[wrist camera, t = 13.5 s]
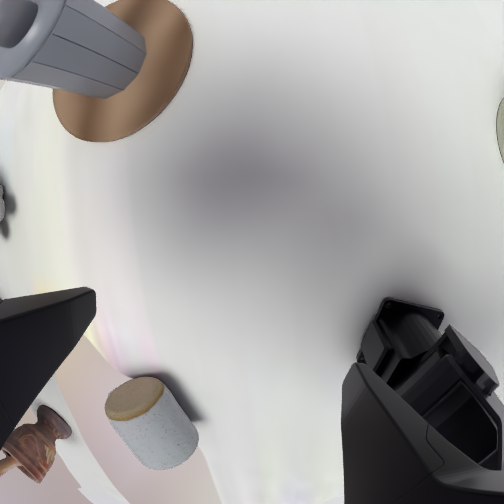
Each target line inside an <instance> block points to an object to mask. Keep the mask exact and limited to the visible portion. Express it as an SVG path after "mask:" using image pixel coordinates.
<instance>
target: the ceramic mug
mask: <svg viewBox="0 0 504 504" xmlns="http://www.w3.org/2000/svg"><path fill="white" fill-rule="evenodd" d="M105 412H106V415H107V417H108V419H109V421H110V423H111V425H112V426H113V428H114V429H115V431H116V432H117V433H118V434H119V435H120V437H121V438H122V439H123V441H124V442H125V443H126V445H127V446H128V447H129V448H130V450H131V451H132V452H133V454H134V455H135V456H136V457H137V458H138V460H139V461H140V462H141V463H142V464H143V465H145V466H146V467H148V468H150V469H154V470H165V469H170V468H173V467H176V466H178V465H180V464H181V463H183V462H184V461H186V460H187V459H188V458H189V457H190V456H191V455H192V454H193V452H194V451H195V449H196V447H197V445H198V440H199V436H198V431H197V429H196V428H195V426H194V425H193V424H192V422H191V421H190V420H189V418H188V417H187V415H186V414H185V413H184V411H183V410H182V408H181V407H180V406H179V404H178V403H177V401H176V400H175V398H174V396H173V395H172V393H171V392H170V391H169V389H168V388H167V387H166V386H165V385H164V384H163V383H162V382H161V381H160V380H159V379H156V378H153V377H139V378H135V379H132V380H129V381H127V382H125V383H124V384H122V385H120V386H119V387H118V388H115V389H114V390H113V391H111V392H110V393H109V394H108V398H107V401H106V404H105Z"/></svg>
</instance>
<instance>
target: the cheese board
mask: <svg viewBox="0 0 504 504" xmlns="http://www.w3.org/2000/svg"><path fill="white" fill-rule="evenodd" d="M105 8H106V9H108V10H109V11H110V12H112V13H113V14H115V15H116V16H118V17H119V18H120V19H122V20H123V21H124V22H126V23H127V24H129V25H130V26H131V27H133V28H134V29H135V30H136V31H138V32H139V33H140V34H141V35H142V36H144V38H145V45H146V53H147V54H146V57H145V59H144V62H143V64H142V67H141V70H140V72H139V73H138V75H137V76H136V77H135V79H134V80H133V81H132V82H131V83H130V84H129V85H128V86H127V87H126V88H125V90H123V91H122V92H119V93H117V94H115V95H113V96H111V97H109V98H107V99H102V98H94V97H88V96H84V95H80V94H76V93H72V92H67V91H63V90H58V89H53V103H54V108H55V112H56V114H57V117H58V119H59V121H60V123H61V124H62V125H63V127H64V128H65V129H66V130H67V131H68V132H69V133H70V134H72V135H73V136H75V137H76V138H79V139H82V140H85V141H90V142H109V141H115V140H118V139H122V138H124V137H127V136H129V135H131V134H133V133H135V132H137V131H138V130H140V129H142V128H143V127H144V126H146V125H147V124H148V123H150V122H151V121H152V120H153V119H154V118H155V117H157V116H158V115H159V114H160V113H161V112H162V111H163V109H164V108H165V107H166V106H167V105H168V104H169V102H170V101H171V100H172V98H173V97H174V96H175V94H176V93H177V91H178V89H179V88H180V86H181V84H182V82H183V80H184V78H185V76H186V73H187V71H188V68H189V65H190V61H191V56H192V48H193V40H192V32H191V28H190V25H189V23H188V21H187V19H186V18H185V16H184V15H183V13H182V12H181V11H180V10H179V9H178V8H177V7H176V6H175V5H174V4H173V3H171V2H170V1H168V0H118V1H116V2H114V3H112V4H110V5H108V6H106V7H105Z"/></svg>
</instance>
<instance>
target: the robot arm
mask: <svg viewBox="0 0 504 504" xmlns="http://www.w3.org/2000/svg"><path fill="white" fill-rule="evenodd" d="M387 303H390V305H389V306H386V304H387ZM95 315H96V293H95V291H94V290H93V289H90V288H88V287H80V288H74V289H67V290H61V291H55V292H49V293H42V294H36V295H30V296H23V297H17V298H10V299H4V300H0V450H1V449H2V447H3V446H4V444H5V442H6V441H7V439H8V438H9V436H10V435H11V433H12V432H13V430H14V429H15V427H16V425H17V424H18V422H19V421H20V420H21V418H22V416H23V415H24V414H25V412H26V411H27V409H28V408H29V407H30V405H31V404H32V402H33V401H34V400H35V398H36V397H37V395H38V394H39V393H40V391H41V390H42V389H43V387H44V386H45V385H46V383H47V382H48V381H49V379H50V378H51V377H52V375H53V374H54V373H55V371H56V370H57V369H58V367H59V366H60V365H61V364H62V362H63V361H64V360H65V359H66V357H67V356H68V355H69V354H70V352H71V351H72V350H73V348H74V347H75V346H76V344H77V343H78V341H79V340H80V338H81V337H82V335H83V334H84V332H85V331H86V329H87V328H88V326H89V325H90V323H91V322H92V320H93V319H94V317H95ZM438 315H440V316H439V317H438ZM443 318H444V313H443V312H442V311H441V310H439V309H434V308H430V307H426V306H422V305H418V304H413V303H409V302H405V301H401V300H397V299H393V298H385V299H384V300H383V301H382V304H381V306H380V308H379V311H378V313H377V315H376V317H375V320H373V321H372V322H371V324H370V326H369V328H368V331H367V333H366V335H365V337H364V339H363V341H362V343H361V349H360V351H359V353H358V355H357V358H356V359H357V362H358V363H357V362H355V363H353V365H352V366H351V368H350V370H349V372H348V374H347V375H346V377H345V379H344V381H343V385H342V410H341V433H342V448H343V468H344V504H504V405H503V403H502V402H501V401H500V399H499V398H498V397H497V395H496V394H495V393H494V390H495V389H496V388H497V387H498V386H499V381H498V379H497V376H496V374H495V371H494V369H493V367H492V366H491V364H490V363H489V362H488V361H487V360H486V358H485V357H484V356H483V355H482V354H481V353H480V351H479V350H478V349H477V348H476V347H474V346H473V345H472V344H471V343H470V342H469V341H468V340H467V339H466V338H465V337H463V336H462V335H461V334H460V333H459V332H458V331H457V330H455V329H454V328H453V327H452V326H451V325H450V324H449V326H448V327H447V328H446V329H445V330H444V331H445V332H444V334H443V335H441V334H440V332H439V331H438V328H439V326H440V324H441V322H442V320H443ZM361 358H364V359H362V360H360V359H361Z"/></svg>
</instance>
